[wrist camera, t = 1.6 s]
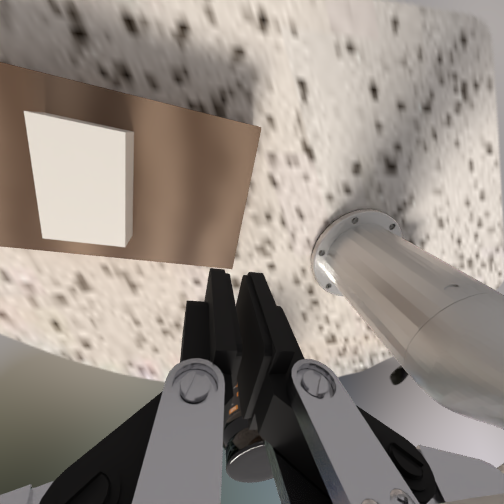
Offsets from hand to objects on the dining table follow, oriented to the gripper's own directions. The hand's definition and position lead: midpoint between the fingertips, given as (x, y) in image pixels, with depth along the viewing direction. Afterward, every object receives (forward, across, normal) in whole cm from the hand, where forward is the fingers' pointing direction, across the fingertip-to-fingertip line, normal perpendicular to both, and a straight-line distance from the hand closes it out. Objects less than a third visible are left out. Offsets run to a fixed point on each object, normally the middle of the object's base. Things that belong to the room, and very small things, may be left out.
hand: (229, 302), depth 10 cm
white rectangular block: (+14, +10, 0) cm, 17 cm away
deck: (+19, +8, 0) cm, 21 cm away
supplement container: (+19, -10, +30) cm, 37 cm away
